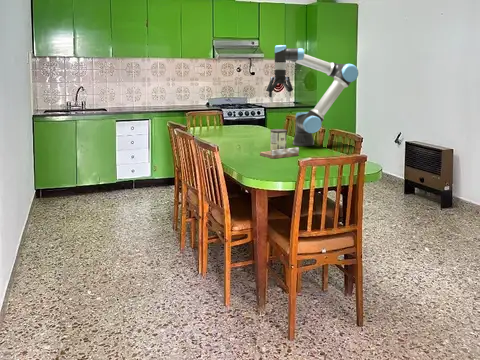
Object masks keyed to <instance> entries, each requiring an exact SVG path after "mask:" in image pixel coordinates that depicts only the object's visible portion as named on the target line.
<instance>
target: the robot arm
mask: <svg viewBox="0 0 480 360" xmlns="http://www.w3.org/2000/svg"><path fill="white" fill-rule="evenodd" d="M287 61H289V62H292V63H296V64H298V65H302V66H304V67H307V68H311V69H312V70H315V71H318V72H321V73H325V74H326V75H327V76H328V77H331V78H333V81H332V83H331V84H330V85H329V87H328V88H327V90H326V91H325V92H324V94H323V95H322V97H320V99H319V101H318V102H317V103H316V105H315V106H314V108H312V109H309V110H308V111H305V112H304V111H303V112H302V111H301V112H296V113H295V133H294V134H295V135H294V137H293V139H292V140H293V141H292V145H293V146H297V147H299V146H300V147H310V146H314V145H315V140H314V137H313V136H314V135H313V134H314V133H317V132H319V131H320V129H321V128H322V124H323V122H324V120H325V118H324V117H325V115H326V114H327V112H328V111H329V110H330V108H331V107H332V106H333V103H335V101H336V100H337V99H338V98H339V96H340V94H341V93H343V90H344V89H345V88H348V87H349V86H350V85H351V83H352V82H354V81H356V80H357V78H358V77H359V69H358V67H357V66H356V65H355V64H352V63H336V62H330V61H329V62H328V61H326V60H322V59H321V58H317V57H314V56H311V55H309V54H307V53H305V50H304V48H302V47H301V48H299V47H297V48H293V47H292V48H289V47H288V48H287V45H286V44H283V45H282V44H278V45H275V46H274V73H273V74H274V76H270V80H269V83H268V86H267V88H266V92H268V97H269V103H274V92H273V91H274V89H275V88H276V87H277V85H280V84H282V85H283V87H284V88H285V89H286V99H285V100H286V102H290V97H291V95H292V94H291V92H292V91H294V88H293V85H292V82H291V79H290V76H286V75H287V73H286V72H287V70H286V69H287Z"/></svg>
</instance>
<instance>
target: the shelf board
mask: <svg viewBox="0 0 480 360" xmlns="http://www.w3.org/2000/svg"><path fill="white" fill-rule="evenodd" d="M270 151H271V150H267V151H260V152H259V156H261V157H264V158H265V157H266V158H268V159H269V158H270V159H281V158H288V157H298V156H300V155H299V154H300V148H299V146H297V147H291V148H290V147H289V148H286V149H280V150H272V153H271V152H270Z"/></svg>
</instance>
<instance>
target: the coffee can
mask: <svg viewBox="0 0 480 360" xmlns="http://www.w3.org/2000/svg"><path fill="white" fill-rule="evenodd" d="M287 132H288V130H287V129H285V128H273V129H270V150H269V151H270V152H271V153H272V150H280V149H287V136H288V135H287V134H288V133H287Z"/></svg>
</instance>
